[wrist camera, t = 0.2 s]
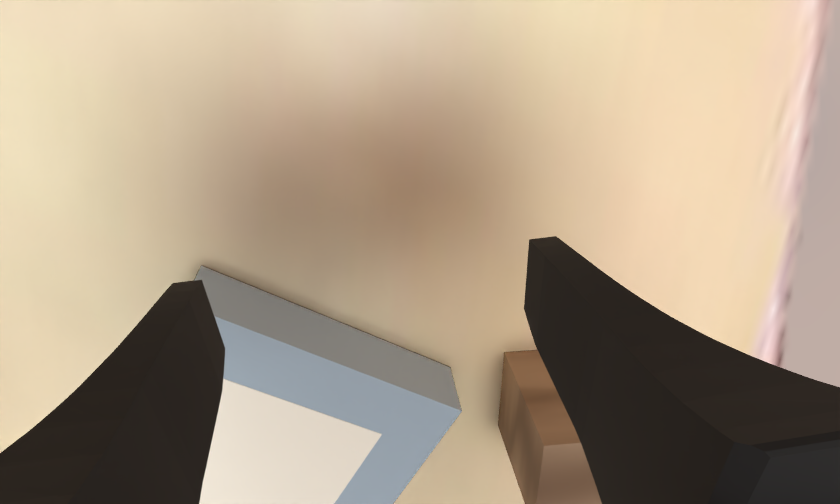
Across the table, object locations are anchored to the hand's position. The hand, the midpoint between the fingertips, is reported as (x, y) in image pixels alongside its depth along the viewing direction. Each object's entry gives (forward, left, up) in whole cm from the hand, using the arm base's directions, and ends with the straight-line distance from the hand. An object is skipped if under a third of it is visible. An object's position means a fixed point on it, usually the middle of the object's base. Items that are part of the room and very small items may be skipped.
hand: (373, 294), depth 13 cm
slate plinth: (-13, -2, -11) cm, 17 cm away
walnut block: (-6, -13, -11) cm, 18 cm away
